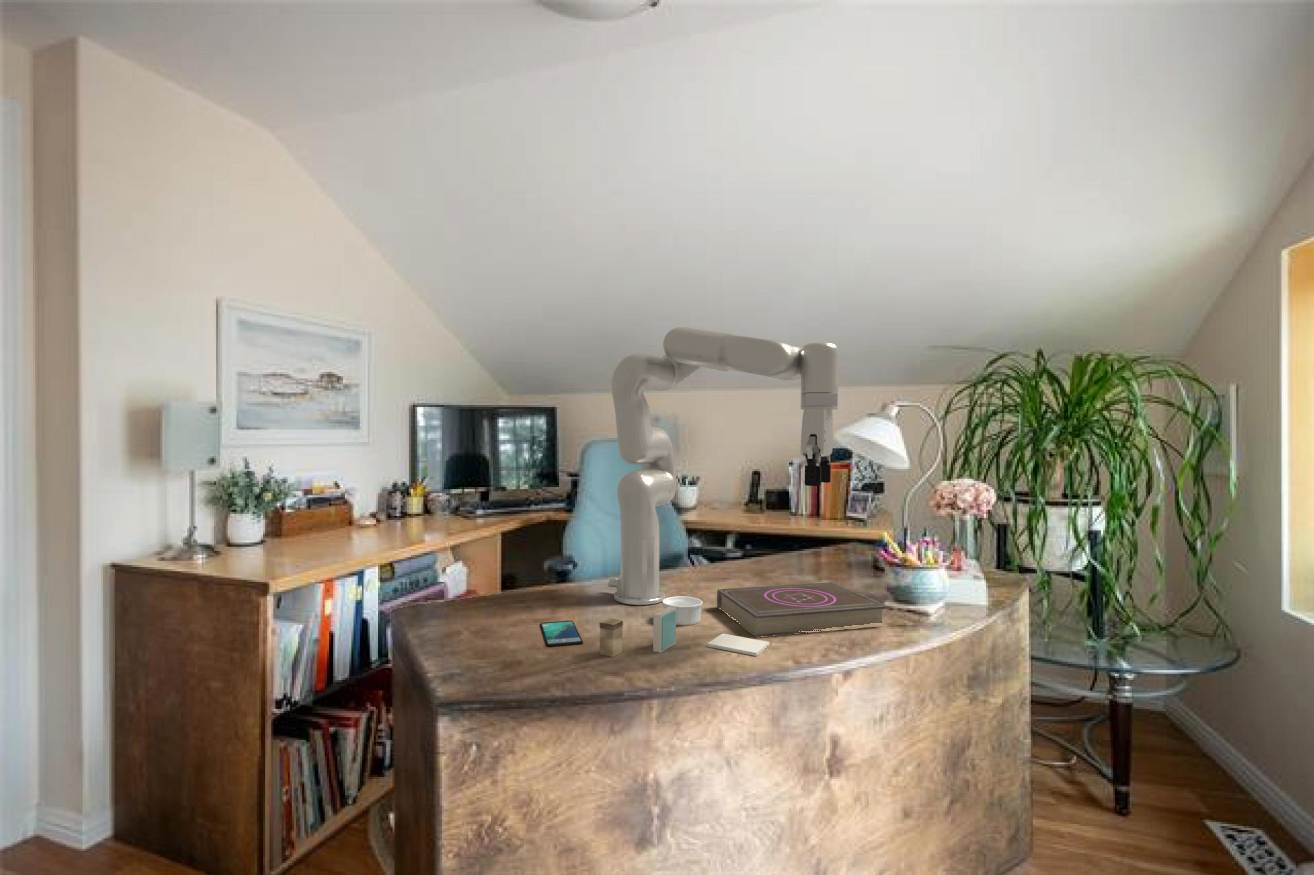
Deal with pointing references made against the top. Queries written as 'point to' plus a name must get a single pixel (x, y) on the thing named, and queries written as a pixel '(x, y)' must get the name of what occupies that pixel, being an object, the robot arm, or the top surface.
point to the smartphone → (560, 634)
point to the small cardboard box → (611, 637)
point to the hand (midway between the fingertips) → (817, 483)
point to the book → (797, 608)
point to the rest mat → (739, 644)
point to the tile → (664, 629)
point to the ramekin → (685, 609)
